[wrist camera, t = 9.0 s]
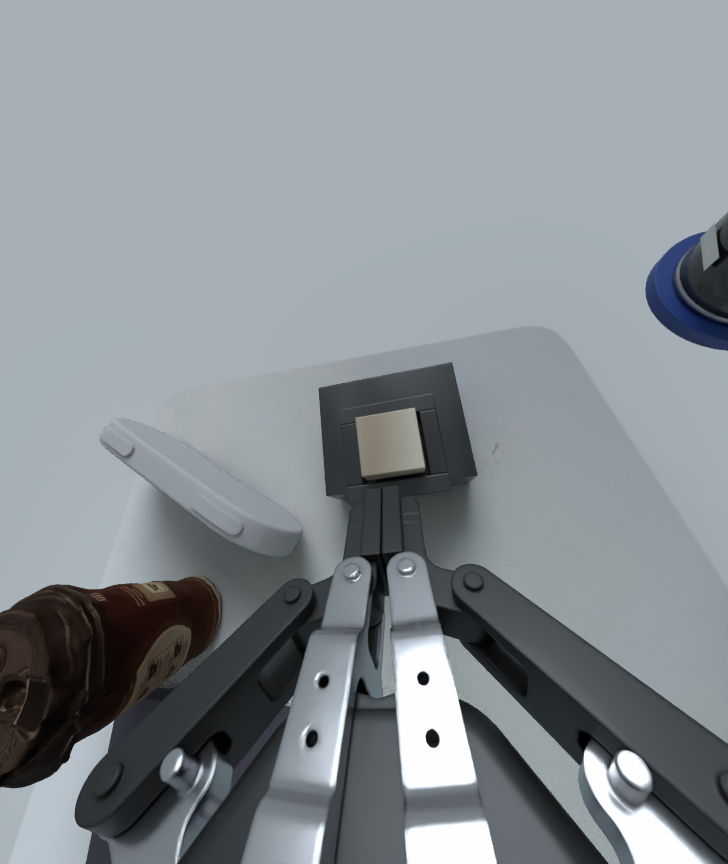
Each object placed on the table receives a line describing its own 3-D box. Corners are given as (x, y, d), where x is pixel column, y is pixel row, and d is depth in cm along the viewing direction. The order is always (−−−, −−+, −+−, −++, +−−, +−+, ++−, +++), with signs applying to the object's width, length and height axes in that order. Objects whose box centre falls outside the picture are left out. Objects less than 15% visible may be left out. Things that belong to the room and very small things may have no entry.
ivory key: (415, 417, 21) (415, 407, 19) (425, 472, 20) (425, 467, 18) (361, 426, 22) (355, 417, 20) (367, 480, 21) (361, 476, 19)
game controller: (158, 451, 32) (71, 429, 24) (171, 433, 32) (89, 404, 24) (304, 554, 26) (251, 569, 18) (318, 530, 26) (272, 534, 18)
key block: (448, 384, 27) (454, 349, 22) (472, 494, 24) (485, 486, 19) (333, 405, 29) (310, 378, 24) (341, 510, 26) (318, 508, 21)
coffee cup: (255, 618, 25) (91, 712, 13) (184, 700, 24) (-58, 881, 12) (198, 542, 28) (20, 561, 16) (133, 614, 27) (-105, 690, 15)
